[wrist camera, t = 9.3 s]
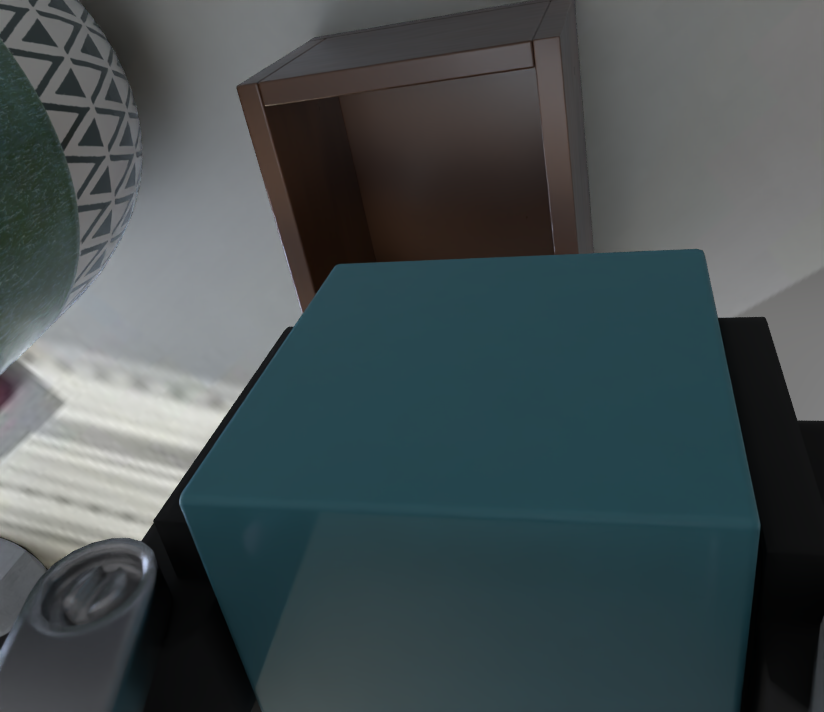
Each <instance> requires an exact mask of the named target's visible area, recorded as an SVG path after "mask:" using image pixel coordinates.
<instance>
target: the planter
mask: <svg viewBox="0 0 824 712" xmlns="http://www.w3.org/2000/svg"><path fill="white" fill-rule="evenodd" d="M141 174H142V136H141V128H140V122H139V116H138V111H137V107H136V104H135V100H134V96H133V93H132V90H131V87H130V84H129V82H128V79H127V77H126V74H125V72H124V70H123V68H122V65H121V63H120V61H119V59H118V57H117V55H116V53H115V52H114V50H113V48H112V46H111V44H110V43H109V41H108V39H107V38H106V36H105V35H104V33H103V31H102V30H101V29H100V27H99V26H98V24H97V23H96V22H95V20H94V19H93V17H92V16H91V15H90V14H89V12H88V11H87V10H86V9H85V7H84V6H83V5H82V4H81V3H80V2H79V1H78V0H0V375H1V374H2V373H3V372H4V371H5V370H6V369H7V368H8V367H9V366H10V365H12V364H13V363H14V362H15V361H16V360H17V359H18V358H19V357H20V356H21V355H22V354H23V353H24V352H25V351H26V350H27V349H28V348H29V347H30V346H31V345H32V344H33V343H34V342H35V341H36V340H37V339H38V338H39V337H40V336H41V335H42V334H43V333H44V332H45V331H46V330H47V329H48V328H49V327H50V326H51V325H52V324H53V323H54V322H55V321H56V320H57V319H58V318H59V317H60V316H61V315H62V314H63V313H64V312H65V311H66V310H67V309H68V308H70V307H71V306H72V305H73V304H74V303H75V302H76V301H77V300H78V299H79V298H80V296H81V295H82V294H83V293H84V292H85V291H86V289H87V288H88V287H89V286H90V285H91V284H92V283H93V281H94V280H95V279H96V278H97V277H98V276H99V274H100V273H101V272H102V270H103V269H104V267H105V266H106V264H107V263H108V261H109V259H110V258H111V256H112V254H113V253H114V251H115V250H116V248H117V246H118V244H119V242H120V241H121V239H122V236H123V234H124V232H125V230H126V228H127V226H128V223H129V221H130V218H131V216H132V213H133V210H134V207H135V203H136V200H137V196H138V192H139V187H140V182H141Z"/></svg>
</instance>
